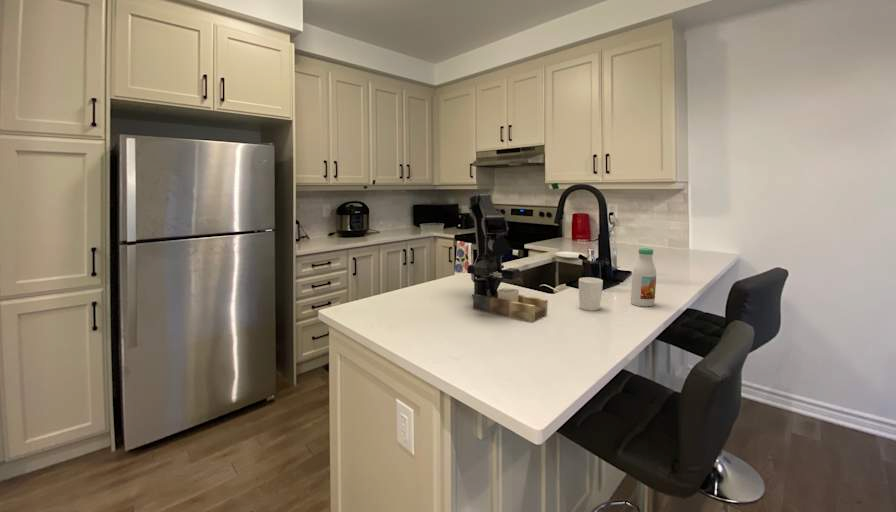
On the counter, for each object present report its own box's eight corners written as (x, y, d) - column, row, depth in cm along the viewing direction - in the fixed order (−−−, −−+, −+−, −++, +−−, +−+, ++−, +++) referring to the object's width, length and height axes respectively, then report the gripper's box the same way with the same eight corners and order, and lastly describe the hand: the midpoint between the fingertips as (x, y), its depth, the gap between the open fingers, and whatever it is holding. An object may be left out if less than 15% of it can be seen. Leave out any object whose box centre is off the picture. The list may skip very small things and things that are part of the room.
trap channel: (473, 308, 146) (473, 294, 145) (489, 302, 154) (489, 289, 153) (532, 321, 131) (532, 306, 131) (547, 314, 139) (547, 299, 138)
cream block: (497, 304, 142) (498, 290, 141) (505, 301, 146) (505, 287, 145) (510, 307, 139) (510, 292, 138) (518, 303, 143) (518, 289, 142)
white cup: (598, 305, 150) (599, 277, 148) (604, 311, 142) (605, 282, 140) (575, 304, 150) (576, 277, 149) (580, 310, 143) (581, 282, 141)
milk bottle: (630, 306, 148) (634, 249, 145) (630, 300, 155) (633, 246, 152) (655, 308, 145) (659, 251, 142) (653, 302, 152) (657, 247, 149)
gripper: (457, 251, 143) (457, 296, 146) (503, 256, 131) (503, 305, 134) (476, 247, 152) (476, 289, 154) (522, 252, 140) (521, 298, 142)
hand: (493, 295), depth 146 cm, fingers closed
